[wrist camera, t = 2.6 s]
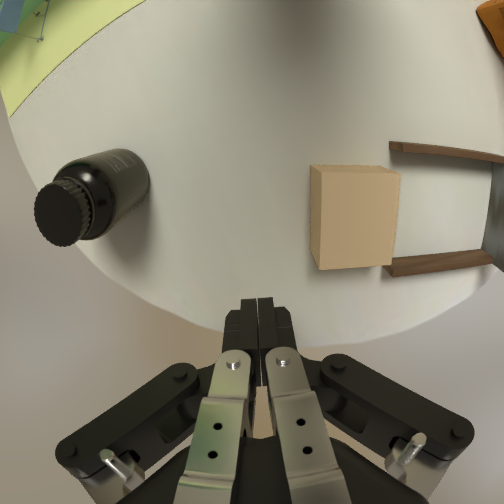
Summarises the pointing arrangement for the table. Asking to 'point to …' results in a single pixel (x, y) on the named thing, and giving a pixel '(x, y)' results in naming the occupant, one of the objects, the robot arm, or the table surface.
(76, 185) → the supplement bottle
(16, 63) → the display stand
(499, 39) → the coffee package
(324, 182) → the carton
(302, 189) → the table surface
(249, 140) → the table surface
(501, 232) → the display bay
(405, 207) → the table surface
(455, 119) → the table surface
